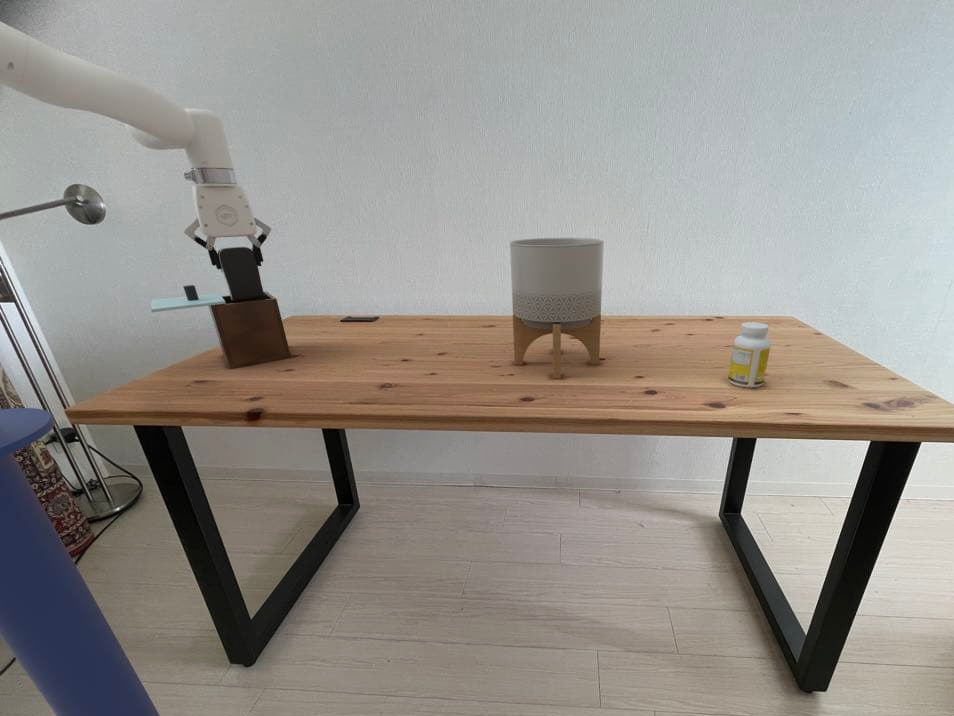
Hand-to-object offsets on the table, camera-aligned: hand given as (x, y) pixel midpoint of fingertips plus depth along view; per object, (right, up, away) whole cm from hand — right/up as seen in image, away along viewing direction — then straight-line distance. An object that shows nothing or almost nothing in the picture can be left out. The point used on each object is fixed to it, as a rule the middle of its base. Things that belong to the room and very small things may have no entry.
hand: (239, 266), depth 102 cm
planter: (+72, -22, 0) cm, 75 cm away
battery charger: (0, -7, +3) cm, 7 cm away
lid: (-9, -9, -4) cm, 13 cm away
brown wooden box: (-1, -19, +8) cm, 21 cm away
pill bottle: (+108, -27, -12) cm, 112 cm away
